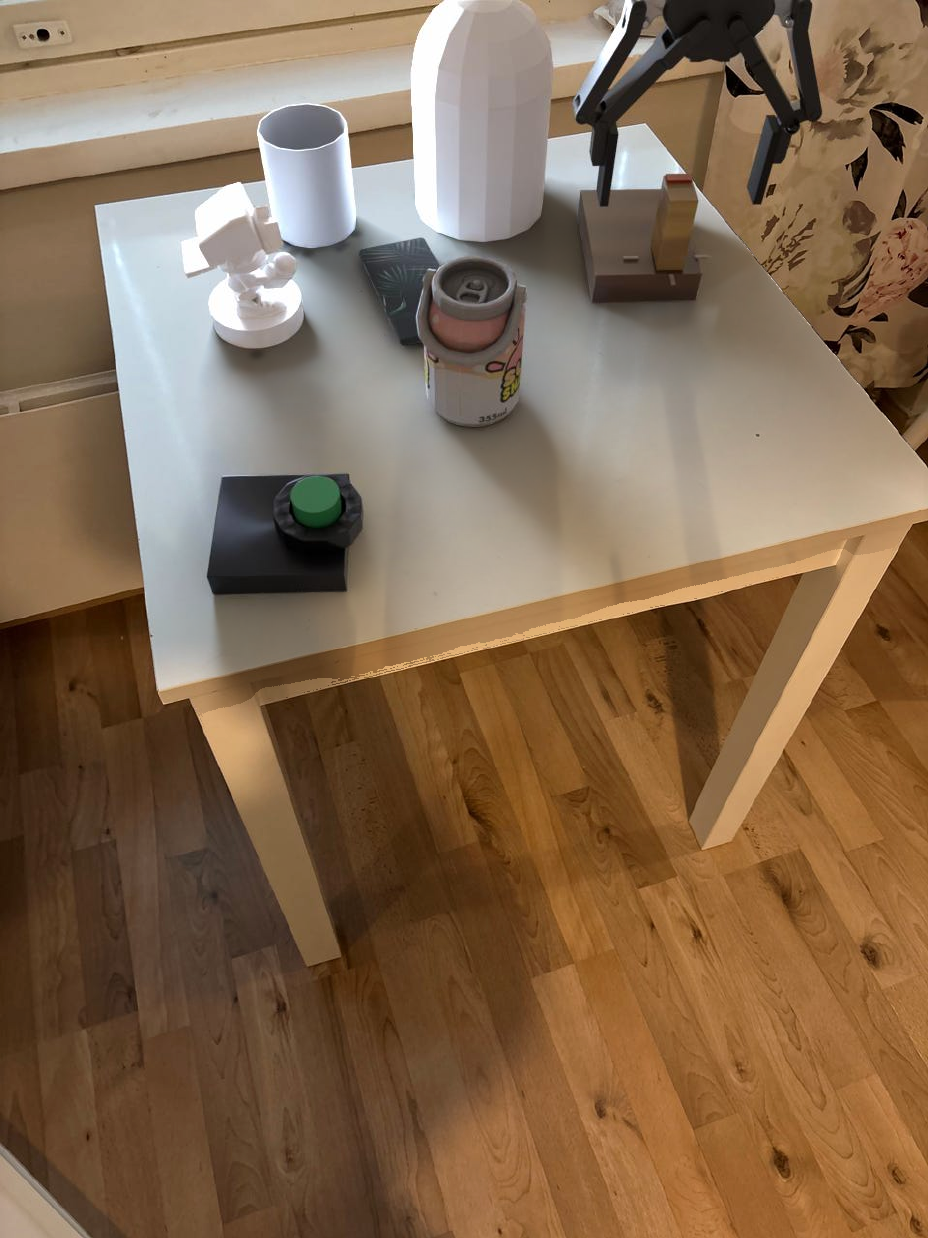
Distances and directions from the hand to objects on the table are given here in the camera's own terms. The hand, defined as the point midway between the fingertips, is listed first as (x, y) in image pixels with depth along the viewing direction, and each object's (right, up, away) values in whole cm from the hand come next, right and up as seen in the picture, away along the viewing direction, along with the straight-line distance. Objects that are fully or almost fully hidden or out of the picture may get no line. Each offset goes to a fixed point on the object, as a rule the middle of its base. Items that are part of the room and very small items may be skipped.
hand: (678, 197), depth 85 cm
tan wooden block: (0, -3, +5) cm, 6 cm away
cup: (-34, +3, +13) cm, 37 cm away
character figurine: (-39, -10, +4) cm, 40 cm away
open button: (-30, -29, -14) cm, 44 cm away
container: (-17, +6, +15) cm, 24 cm away
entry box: (-33, -32, -11) cm, 47 cm away
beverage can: (-18, -19, -2) cm, 27 cm away
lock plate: (-2, -2, +10) cm, 10 cm away
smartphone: (-24, -7, +6) cm, 26 cm away
